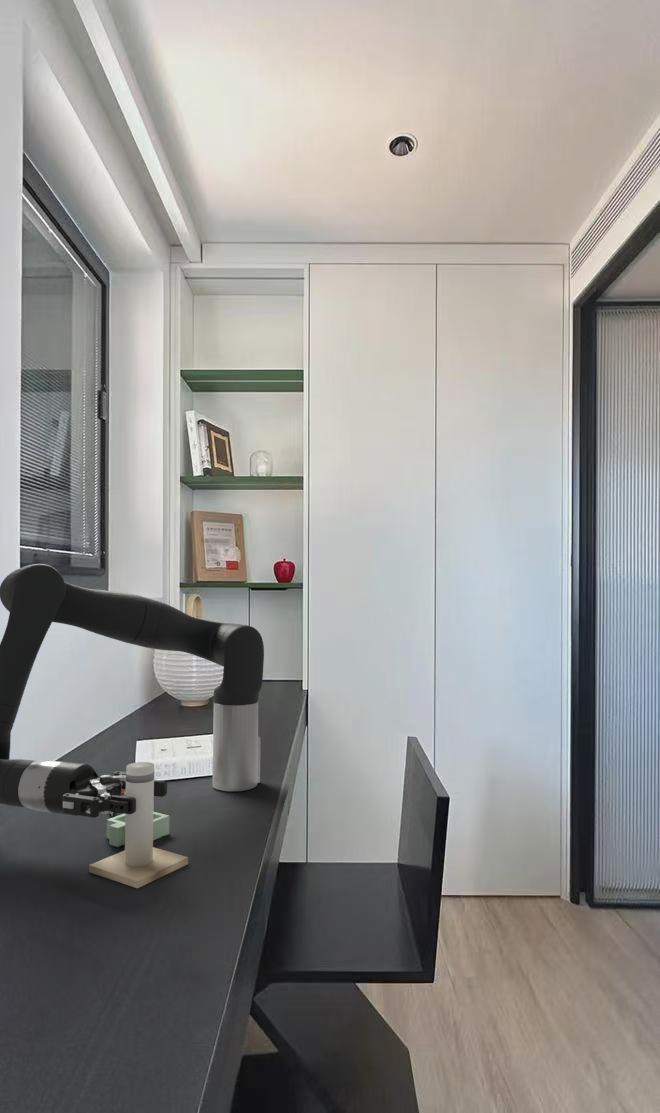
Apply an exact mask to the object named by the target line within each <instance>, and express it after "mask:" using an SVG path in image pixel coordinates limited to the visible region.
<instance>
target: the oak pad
mask: <svg viewBox="0 0 660 1113" xmlns="http://www.w3.org/2000/svg"><path fill="white" fill-rule="evenodd" d="M187 865H189V857H188V856H185V855H182V854H179V853H175V852H171V851H169V850H164V849H161V848H157V847H155V846H153V861H152V862H151V863H150V864H147V865H144V866H138V867H133V866H128V865H126V864H125V849H124V850H121V851H119V852H118V853H115V854H113V855H110V856H107V857H105V858H103V859H100V860H98V861H96V862H93V863H91V864H89V865H88V869H89V870H88V872H89V873H91V874H93V875H97V876H99V877H100V876H101V877H103V878H106V879H109V880H110V881H111V880H112V881H115V882H116V883H117V882H118V883H120V884H123V885H125V886H129V887H132V888H136V889H140V888H141V887H143V886H145V885H148V884H150V883H152V882H154V881H155V880H158V879H160V878H162V877H164V876H166V875H169V874H171V873H172V872H175V871H176V870H179V869H181V868H183V867H185V866H187Z"/></svg>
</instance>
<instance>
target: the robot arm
mask: <svg viewBox="0 0 660 1113" xmlns="http://www.w3.org/2000/svg"><path fill="white" fill-rule="evenodd" d="M0 602H1V604H2V605H3V607H4V608H5V609H6V610H7V611H8V612H9V615H8V619H7V623H6V628H5V629H4V630H5V631H4V634H3V636H2V639H1V642H0V804H1V805H6V806H11V807H16V808H17V807H19V808H26V809H27V808H28V809H31V810H35V811H38V812H45V813H51V814H52V813H53V814H59V815H69V816H74V817H75V816H81V817H85V818H86V817H88V818H93V819H94V818H97V817H99V816H100V813H101V814H103V815H107V814H110V811H111V812H114V814H115V813H116V814H133V813H135V812H136V799H135V798H134V797H126V771H120V770H117V771H114V772H113V775H111V774H103V775H100V776H99V775H98V774H97V771H96V769H95V768H94V767H93V766H92V765H90V764H88V763H80V762H79V763H78V762H68V761H59V760H58V761H57V760H33V759H32V760H31V759H18V758H17V759H13V758H12V759H11V758H10V754H11V736H12V735H11V733H12V730H13V727H14V724H15V720H16V719H17V715H18V711H19V709H20V706H21V704H22V703H21V702H22V700H23V699H22V698H23V695H24V693H25V690H26V686H27V683H28V680H29V678H30V675H31V672H32V670H33V667H34V664H35V660H36V659H37V656H38V654H39V651H40V649H41V647H42V644H43V642H44V640H45V637H46V636H47V633H48V631H49V629H50V628H51V625H52V623H57V624H63V625H67V626H68V625H69V626H72V627H75V628H80V629H82V630H85V631H88V632H91V633H94V634H96V635H100V636H103V637H106V638H109V639H113V640H116V641H119V642H123V643H126V644H130V645H134V646H138V647H143V648H147V649H153V650H159V651H170V652H181V653H187V654H189V655H193V656H196V657H198V658H202V659H204V660H206V661H209V662H212V663H214V664H216V665H219V666H221V667H223V669H222V671H223V672H222V681H221V683H220V684H219V685H218V686H217V687H215V688H214V690H213V716H212V717H213V720H212V721H213V725H212V726H213V727H212V728H213V729H212V730H213V733H212V734H213V735H212V739H213V740H212V788H213V789H216V790H218V791H221V792H243V791H244V792H245V791H249V790H252V789H254V788H256V787H257V786H258V784H259V783H260V782H261V740H262V739H261V737H260V736H259V694H260V692H261V690H262V686H263V677H264V664H265V646H264V640H263V637H262V635H261V633H260V631H258V630H257V629H256V628H255V627H253V626H251V625H246V624H239V623H227V622H219V621H218V622H217V621H211V620H206V619H201V618H198V617H194V616H191V615H189V614H187V613H185V612H183V611H182V610H179V609H178V608H175V607H173V606H172V605H170V604H167V603H164V602H162V601H159V600H155V599H152V598H148V597H145V596H142V595H137V594H133V593H128V592H127V593H126V592H120V591H113V590H102V589H91V588H86V587H82V586H79V585H74V584H72V583H70V582H66V581H65V579H64V577H63V576H62V574H61V573H60V571H58V569H56V568H55V567H53V566H51V565H49V564H46V563H45V564H44V563H36V564H29V565H25V566H22V567H20V568H17V569H15V570H13V571H11V572H10V573H9V574H8V575H6V577H4V579H3V580H2V582H1V583H0ZM123 789H125V792H124V794H121V792H122V790H123ZM167 794H168V783H167V781H165V780H158V779H157V780H156V779H154V797H160V798H163V797H165V796H167Z"/></svg>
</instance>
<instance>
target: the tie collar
mask: <svg viewBox="0 0 660 1113" xmlns="http://www.w3.org/2000/svg"><path fill="white" fill-rule="evenodd" d="M125 817H126V814H123V813H121V814H119V815H116V816H114V817H111V818H107V819H106V832H105V833H106V837H105V838H106V839H107V840H109V842H108V845H110V846H112V847H116V848H119V847H121V846H125ZM169 834H170V815H168V814H165V813H160V812H157V811H154V812H153V841H155V840H159V839H161V838H162V836H163V837H165V836H168V835H169Z"/></svg>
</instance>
